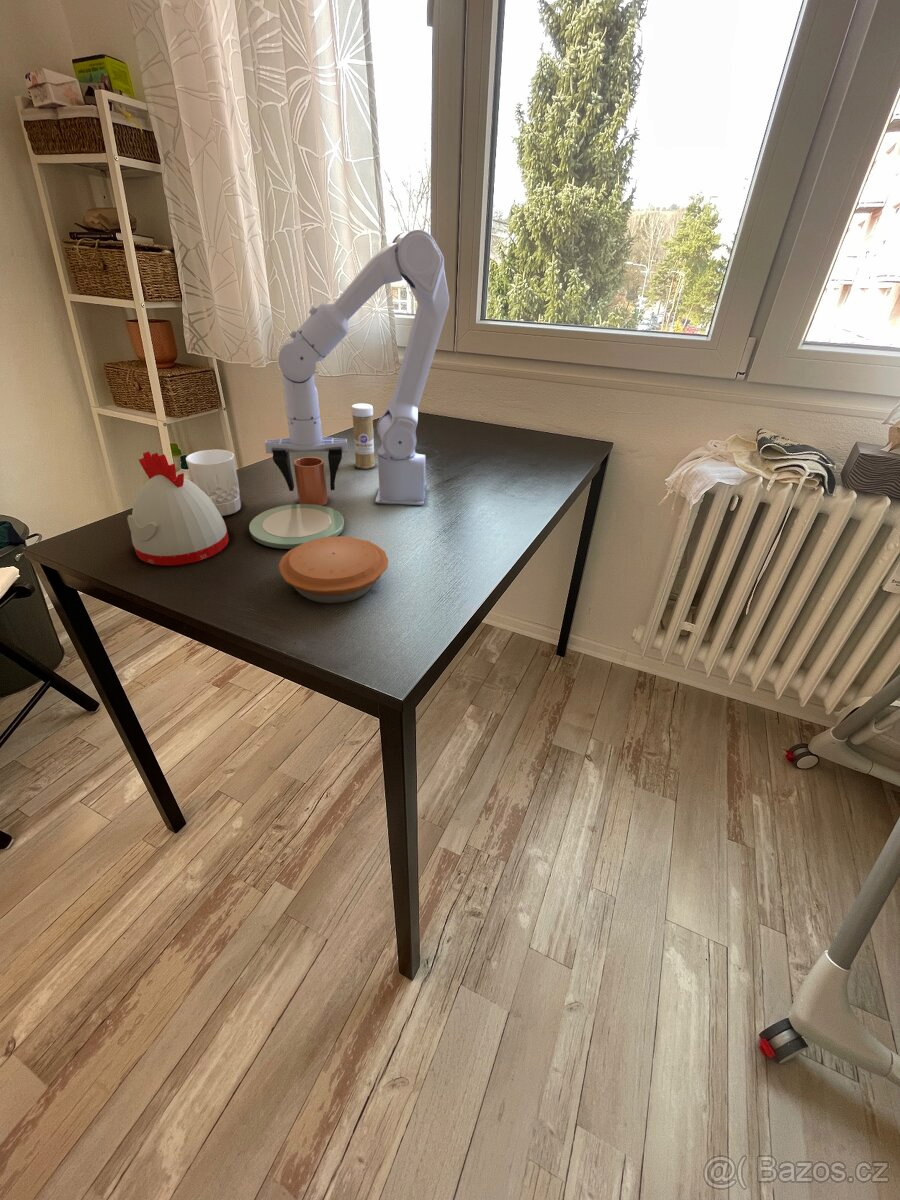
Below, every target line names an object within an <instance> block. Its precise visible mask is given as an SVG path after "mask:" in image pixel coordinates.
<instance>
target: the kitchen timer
mask: <svg viewBox="0 0 900 1200" xmlns="http://www.w3.org/2000/svg"><path fill="white" fill-rule="evenodd" d="M142 455H143V457H142V458H138V462H139V464H140V466H141V468H142V469H143V471H144V472H145V474H146V476H147V477H148V480H147V481H146V482H145V483H144V484H143V485H142V487H140V489H139V491H138V493H137V495H136V496H135V499H134V503H133V506H132V511H131V513H132V514H128V515H127V517H126V518H127V519H126V520H127V524H128V527H129V531H130V533H131V534H130V535H131V536H130V537H131V543H132V546H133V549H134V553H135V554H136V556H137V557H138V559H139V560H141V561H143V562H144V563H146V564H151V565H156V566H168V567H169V566H181V565H187V564H191V563H196V562H200V561H203V560H205V559H208V558H211V557H213V556H215V555H216V554H219V553H220V552H221V551H222V550H223V549H225V548H226V547H227V546H228V543H229V542H230V538H229V533H228V529H227V528H228V527H227V525H226V522H225V520H224V518H223V516H221V514H220V513H219V511H218V509H217V504H216V500H215V498H214V497H213V496H211V497H208V496H207V495H206V493H205V492H203V491H202V490H201V489H200V488H199V487H198V486H197V485H196V484H194V483H193V482H192V480H190V479H188V478H186V477H185V474H184V472H181V473H179V474H177V470H176V464H175V463H172V464H169V462H168V459H167V456H166V454H161V455H159V453H158V452H154V453H152V454H151V452H150V451H146V452H143V453H142Z"/></svg>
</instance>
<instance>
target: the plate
mask: <svg viewBox="0 0 900 1200" xmlns="http://www.w3.org/2000/svg"><path fill="white" fill-rule="evenodd" d="M344 529H345V519H344V516H343V515H342V514H341V513H340V512H339V511H338V510H336V509H334V508H332V507H329V506H325V505H323V506H321V505H315V504H300V503H295V504H286V505H280V506H277V507H273V508H270V509H267V510H265V511H263V512H261V513H259V514H258V515H256V516H254V517H253V519H252V520H251V521H250V522H249V526H248V530H249V534H250V537H251V538H252V539H253V540H254V541H255V542H256V543H258V544H260V545H263V546H265V547H270V548H275V549H282V550H283V549H284V550H292V549H294V548H295V547H297V546H299V545H301V544H304V543H306V542H309V541H312V540H315V539H319V538H324V537H336V536H339V535H340V534H341V533H342V532H343V531H344Z"/></svg>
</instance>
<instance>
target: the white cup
mask: <svg viewBox="0 0 900 1200" xmlns="http://www.w3.org/2000/svg"><path fill="white" fill-rule="evenodd" d="M185 462H186V465H187V468H188V471H189V474H190V479H191V482H193V483H194V484H196V485H197V486H198V487H199V488H200V489H201V490H202V491H203V492H205V493H206V495H207V496H208V497H211V496H213V497H214V498H215V500H216V504H217V509H218V511H219V513H220V514H221V516H222V517H224V516H229V515H230V516H231V515H232V514H235V513H237V512H239V511H240V510H241V507H242V502H241V495H240V486H239V478H238V471H237V466H236V459H235V454H234V453H233V451H230V450H227V449H204V450H198V451H195V452H192V453H190V454H188V455H187V456H186V457H185Z"/></svg>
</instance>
